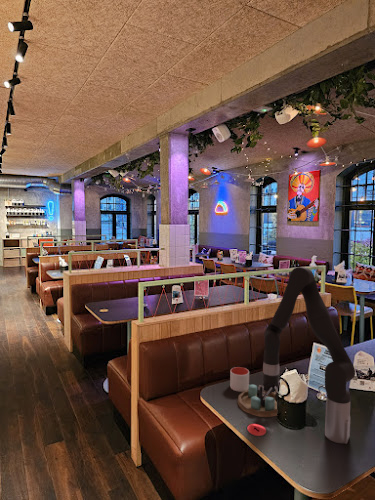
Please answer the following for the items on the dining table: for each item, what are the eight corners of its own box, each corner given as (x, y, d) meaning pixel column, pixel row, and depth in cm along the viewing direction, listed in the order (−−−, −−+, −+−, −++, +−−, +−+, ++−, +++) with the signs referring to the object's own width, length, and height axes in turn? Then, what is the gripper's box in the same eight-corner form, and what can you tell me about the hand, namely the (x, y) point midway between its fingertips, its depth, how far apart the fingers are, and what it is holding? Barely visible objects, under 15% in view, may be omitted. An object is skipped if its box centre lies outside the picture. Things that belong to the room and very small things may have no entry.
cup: (226, 387, 188) (226, 370, 187) (239, 382, 194) (239, 365, 193) (239, 395, 180) (239, 377, 179) (252, 389, 186) (253, 371, 185)
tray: (291, 401, 174) (291, 396, 174) (275, 424, 155) (275, 418, 155) (249, 389, 187) (249, 383, 187) (229, 408, 168) (229, 402, 168)
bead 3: (275, 409, 165) (276, 398, 165) (272, 413, 162) (272, 402, 161) (267, 406, 168) (267, 395, 167) (263, 410, 164) (263, 399, 164)
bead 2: (261, 408, 166) (261, 398, 165) (258, 413, 162) (258, 402, 162) (253, 406, 168) (253, 395, 168) (249, 410, 165) (249, 399, 164)
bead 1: (258, 396, 178) (258, 385, 177) (254, 399, 174) (255, 389, 174) (250, 393, 180) (250, 383, 180) (246, 397, 176) (247, 387, 176)
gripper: (277, 365, 169) (276, 397, 171) (253, 371, 163) (253, 403, 165) (288, 371, 163) (287, 404, 164) (263, 377, 156) (263, 411, 158)
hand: (270, 404), depth 165 cm, fingers open, 8 cm apart
